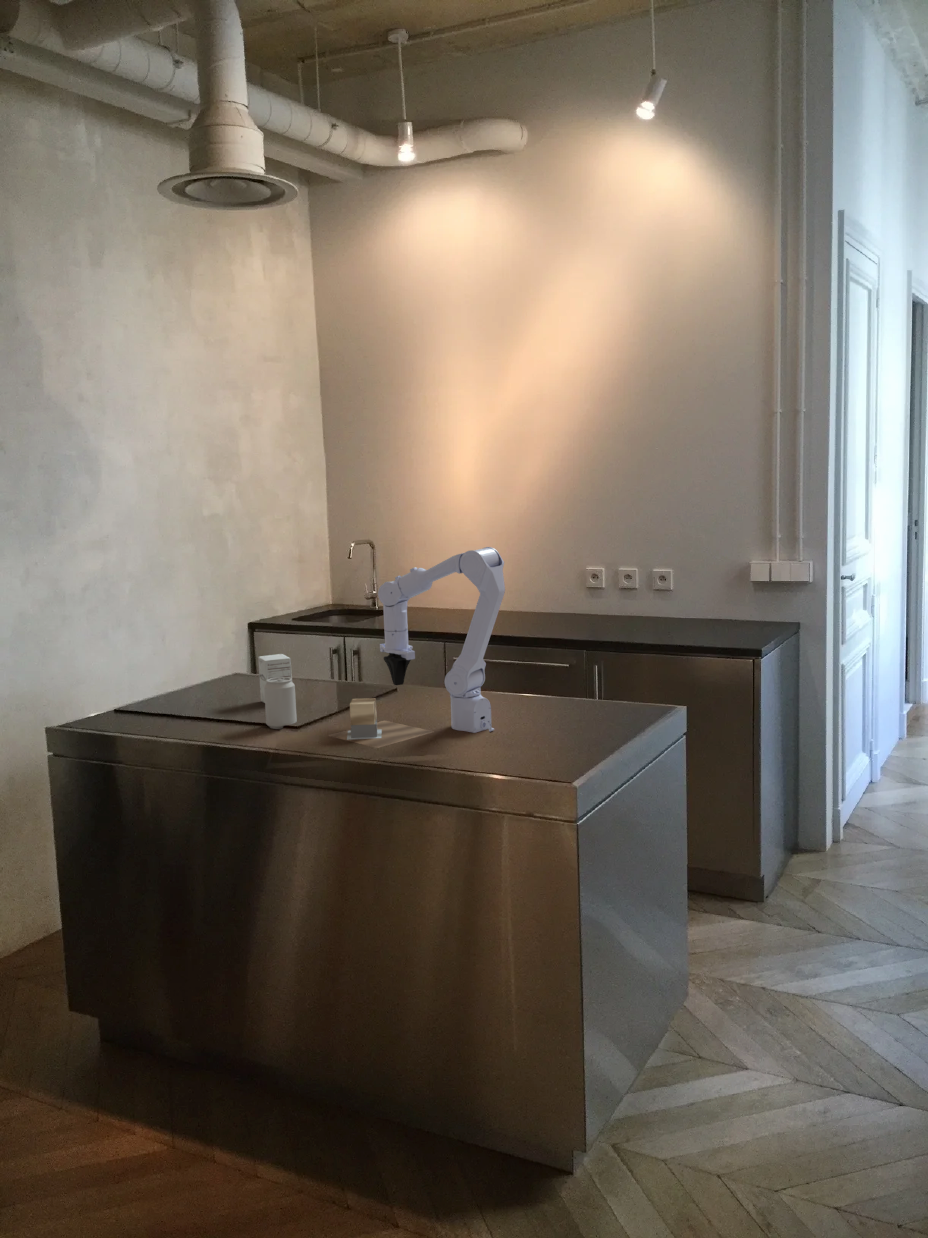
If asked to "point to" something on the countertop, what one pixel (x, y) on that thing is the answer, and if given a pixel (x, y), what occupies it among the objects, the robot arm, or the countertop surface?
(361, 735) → the grey base block
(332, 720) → the countertop surface
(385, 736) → the board
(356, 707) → the maple cube
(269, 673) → the supplement box
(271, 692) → the can
